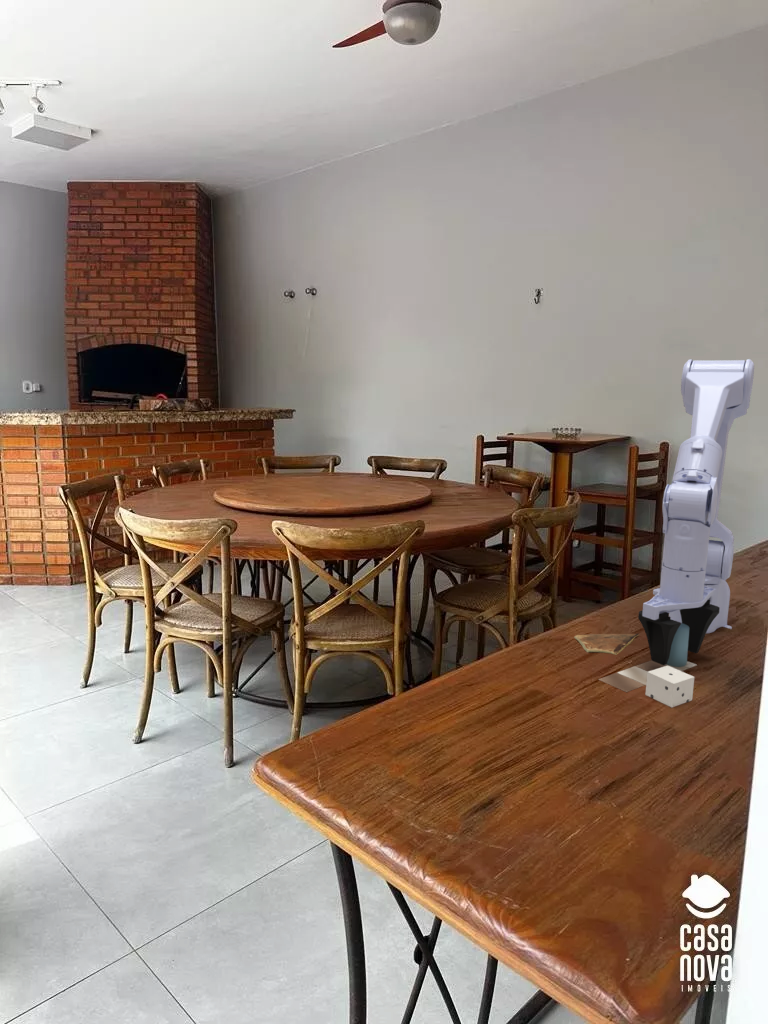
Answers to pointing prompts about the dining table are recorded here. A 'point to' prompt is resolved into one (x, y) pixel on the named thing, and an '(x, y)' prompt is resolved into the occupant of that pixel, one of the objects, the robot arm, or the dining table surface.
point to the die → (669, 686)
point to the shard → (605, 642)
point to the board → (636, 675)
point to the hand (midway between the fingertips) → (675, 656)
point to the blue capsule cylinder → (679, 647)
